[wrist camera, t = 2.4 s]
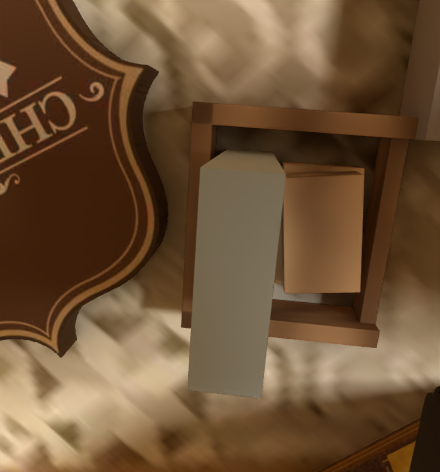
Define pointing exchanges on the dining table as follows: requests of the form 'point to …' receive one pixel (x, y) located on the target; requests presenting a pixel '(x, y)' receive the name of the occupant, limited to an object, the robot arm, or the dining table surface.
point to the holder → (424, 73)
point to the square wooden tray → (376, 228)
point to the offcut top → (322, 232)
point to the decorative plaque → (69, 171)
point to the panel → (234, 271)
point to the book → (382, 454)
